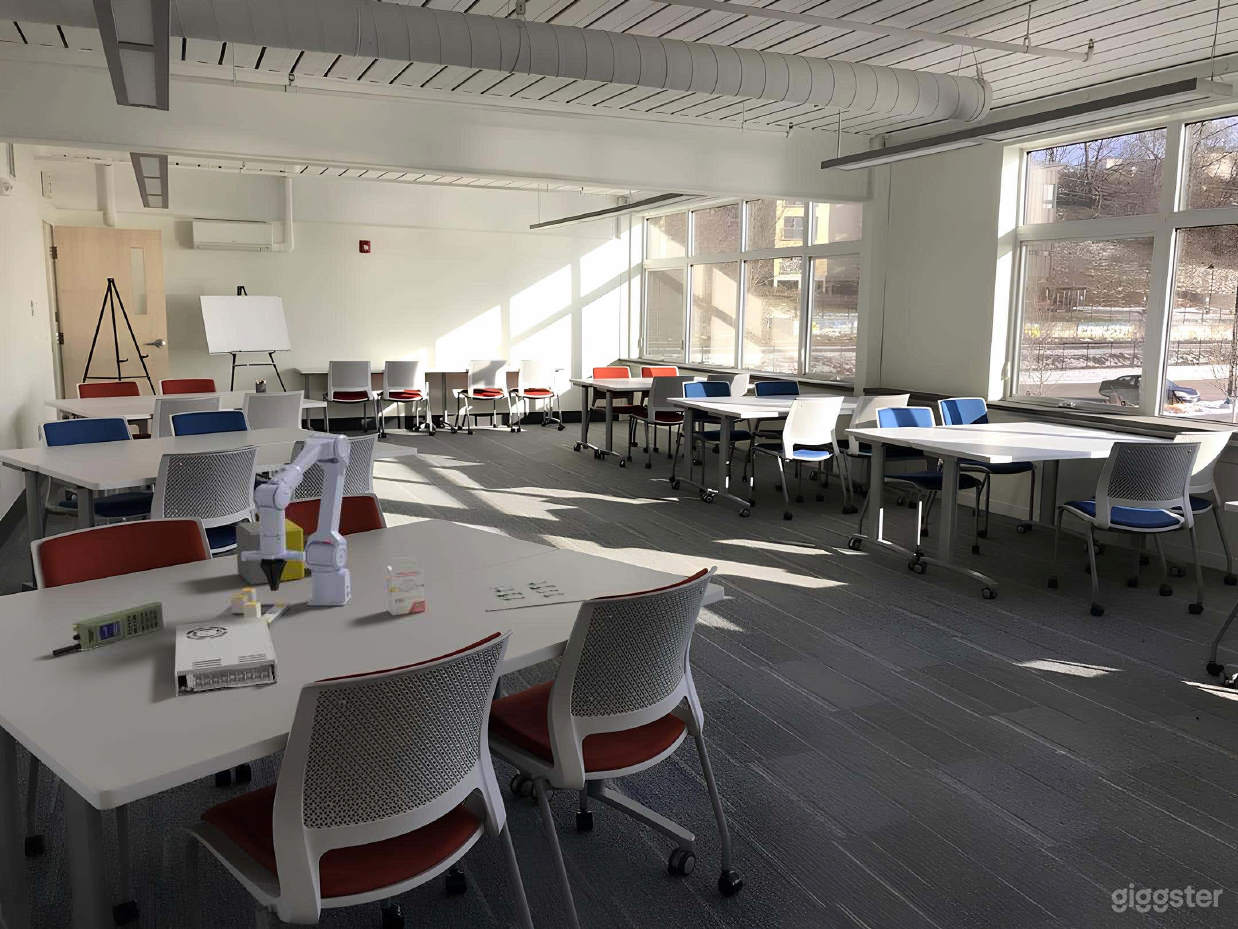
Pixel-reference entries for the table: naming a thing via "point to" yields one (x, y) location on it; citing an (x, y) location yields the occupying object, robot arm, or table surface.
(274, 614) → the switch unit
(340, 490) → the robot arm
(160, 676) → the table surface
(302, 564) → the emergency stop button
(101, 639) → the handheld radio
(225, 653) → the power supply unit
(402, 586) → the ink cartridge box
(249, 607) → the switch near
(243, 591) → the switch far
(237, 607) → the switch mid
